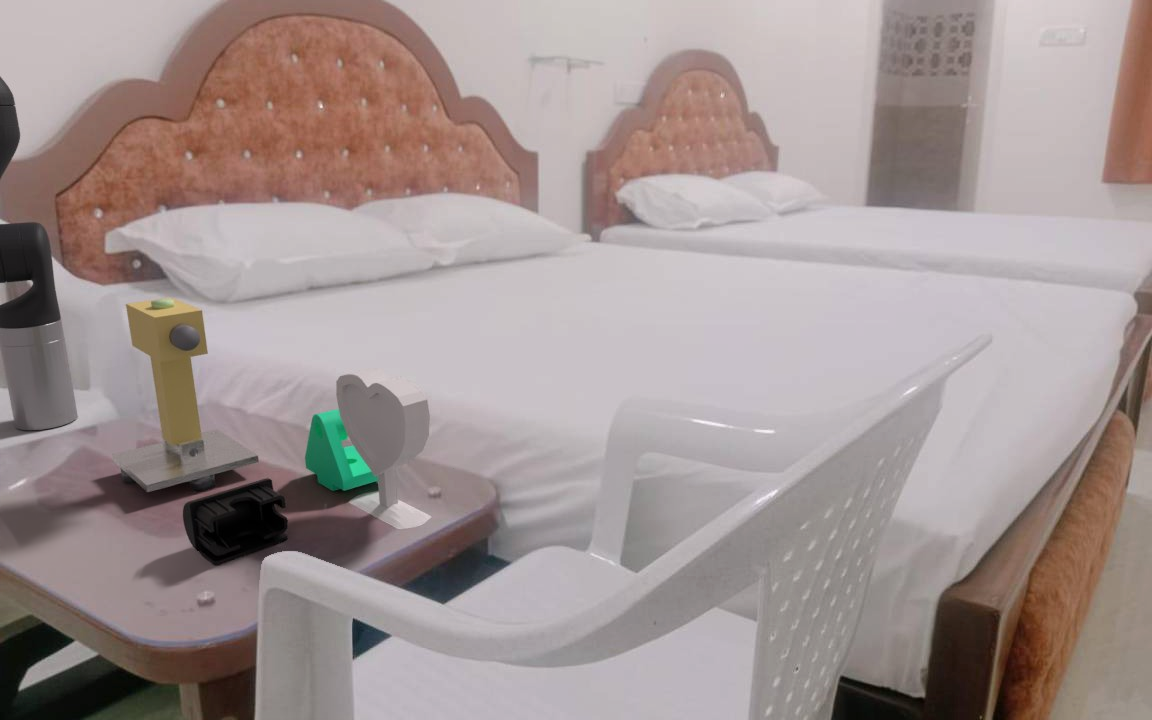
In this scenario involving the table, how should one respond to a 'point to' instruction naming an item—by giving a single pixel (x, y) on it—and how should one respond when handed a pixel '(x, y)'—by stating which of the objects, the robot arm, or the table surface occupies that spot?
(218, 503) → the end cap
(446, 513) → the table surface
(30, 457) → the table surface
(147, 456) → the grey metal base plate
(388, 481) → the heart sculpture
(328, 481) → the camera mount
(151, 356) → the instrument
